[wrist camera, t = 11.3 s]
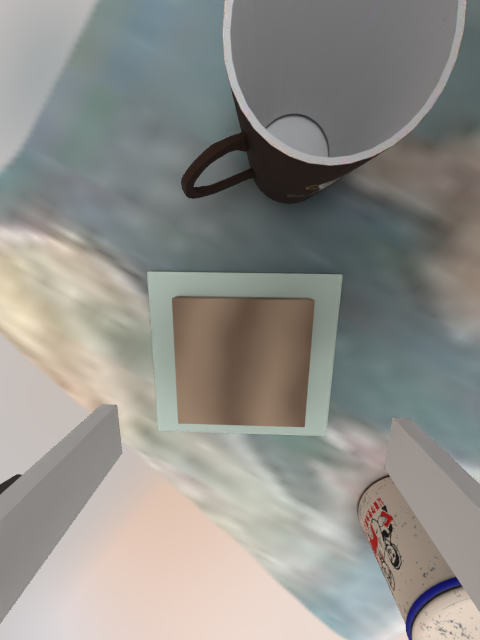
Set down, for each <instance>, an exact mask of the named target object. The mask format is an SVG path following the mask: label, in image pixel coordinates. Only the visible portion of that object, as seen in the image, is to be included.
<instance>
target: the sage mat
mask: <svg viewBox="0 0 480 640" xmlns="http://www.w3.org/2000/svg"><path fill="white" fill-rule="evenodd" d="M147 277H148V292H149V306H150V321H151V335H152V350H153V364H154V379H155V393H156V408H157V422H158V431H182V432H213V433H244V434H276V435H307V436H326V430H327V420H328V411H329V401H330V392H331V382H332V372H333V363H334V353H335V344H336V334H337V325H338V315H339V306H340V296H341V287H342V277H343V274H291V273H221V272H147ZM176 296H216V297H284V298H311V299H313V300H315V305H314V317H313V330H312V342H311V355H310V367H309V380H308V393H307V405H306V418H305V427H277V426H243V425H208V424H178V411H177V392H176V372H175V352H174V332H173V312H172V298H174V297H176Z"/></svg>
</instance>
